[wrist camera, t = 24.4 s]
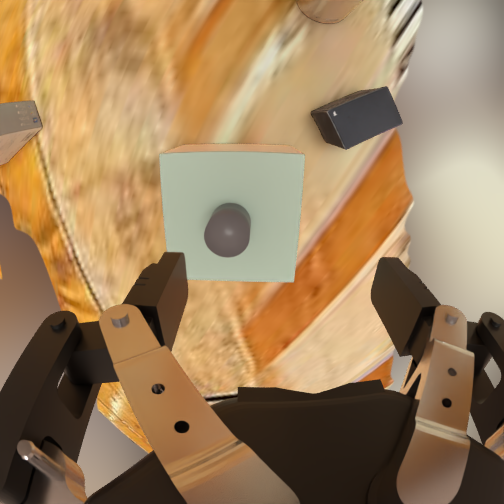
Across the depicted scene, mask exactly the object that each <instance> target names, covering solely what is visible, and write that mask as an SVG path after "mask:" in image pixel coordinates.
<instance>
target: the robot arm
mask: <svg viewBox="0 0 504 504" xmlns="http://www.w3.org/2000/svg"><path fill="white" fill-rule="evenodd" d="M362 1H363V0H297V3H298V6H299V8H300V10H301V11H302V12H303V13H304V14H305V15H306V16H308V17H309V18H311V19H312V20H315V21H317V22H321V23H328V24H330V23H336V22H339V21H341V20H343V19H344V18H345V17H346V16H347V15H348V14H349V13H350V12H351V11H352V10H353V9H354V8H355V7H356V6H358V5H359V4H360V3H361V2H362ZM187 298H188V282H187V272H186V262H185V255H184V253H183V252H164V254H163V256H162V257H161V259H160V261H159V262H158V264H154V263H152V264H151V265H149V266H148V267H146V268H145V269H144V270H143V271H142V273H141V274H140V276H139V279H137V280H136V282H135V285H133V287H132V288H131V290H130V292H129V293H128V295H127V297H126V298H125V300H124V302H123V303H122V304H120V305H116V306H113V307H110V308H108V309H107V310H106V311H104V312H103V313H102V315H101V316H100V319H99V321H95V322H86V323H79V322H78V320H77V317H76V315H75V314H74V313H72V312H70V311H59V312H56V313H53V314H51V315H50V316H48V317H47V318H46V319H45V320H44V321H43V323H42V324H41V326H40V327H39V329H38V330H37V332H36V333H35V335H34V336H33V337H32V339H31V341H30V342H29V344H28V345H27V347H26V348H25V350H24V352H23V353H22V355H21V356H20V358H19V360H18V361H17V363H16V365H15V366H14V368H13V370H12V372H11V373H10V375H9V377H8V379H7V380H6V382H5V384H4V386H3V388H2V390H1V391H0V502H1V503H2V504H504V320H503V319H502V318H501V317H500V316H498V315H496V314H494V313H491V312H485V313H483V314H482V316H481V318H480V320H479V322H478V323H474V322H468V321H467V319H466V317H465V315H464V314H463V313H462V312H461V311H460V310H458V309H457V308H455V307H452V306H448V305H441V304H440V303H439V302H438V300H437V299H436V298H435V297H434V295H433V294H432V293H431V292H430V290H429V289H427V287H426V286H425V284H424V283H422V281H421V280H420V279H419V277H418V276H417V275H416V274H414V273H413V272H412V271H410V270H409V269H408V268H407V267H406V266H405V265H404V264H403V263H402V262H401V260H400V259H399V258H395V257H382V258H380V260H379V262H378V265H377V269H376V273H375V277H374V281H373V285H372V288H371V301H372V304H373V305H374V307H375V309H376V311H377V313H378V315H379V317H380V318H381V320H382V322H383V324H384V326H385V328H386V330H387V332H388V334H389V336H390V338H391V340H392V342H393V344H394V346H395V348H396V350H397V352H398V354H399V356H400V357H401V356H408V355H412V359H411V361H410V363H409V366H408V369H407V372H406V375H405V378H404V381H403V384H402V386H401V389H400V392H396V391H392V390H386V389H384V388H383V385H382V382H381V380H380V379H379V380H372V381H364V382H356V383H348V384H345V385H342V386H339V387H336V388H333V389H330V390H327V391H324V392H320V393H316V394H312V393H305V392H299V391H293V390H287V389H281V388H276V387H272V388H259V387H238V397H237V398H232V399H228V400H224V401H221V402H218V403H216V404H213V405H211V406H209V404H208V403H207V402H206V401H205V399H204V398H203V397H202V395H201V394H200V393H199V391H198V390H197V389H196V387H195V386H194V385H193V383H192V382H191V380H190V379H189V378H188V376H187V375H186V373H185V372H184V371H183V369H182V368H181V366H180V365H179V363H178V362H177V360H176V359H175V357H174V356H173V354H172V353H171V351H172V347H173V344H174V341H175V337H176V334H177V331H178V328H179V325H180V321H181V318H182V315H183V312H184V309H185V306H186V302H187ZM492 357H493V359H494V360H495V362H496V363H497V365H498V367H499V368H500V370H501V380H500V382H499V384H498V385H497V387H496V388H495V389H494V387H493V385H492V383H491V381H490V379H489V377H488V376H487V374H486V372H485V370H484V368H485V367H486V365H487V364H488V362H489V361H490V359H491V358H492ZM63 372H64V376H63V378H62V380H61V382H60V384H59V386H58V382H59V380H60V378H61V376H62V373H63ZM119 381H120V383H121V386H122V388H123V390H124V393H125V395H126V397H127V399H128V401H129V404H130V406H131V408H132V410H133V412H134V414H135V416H136V418H137V420H138V422H139V424H140V426H141V428H142V430H143V432H144V434H145V435H146V437H147V439H148V441H149V443H150V445H151V446H152V448H153V451H152V452H150V453H149V454H148V455H147V456H145V457H144V458H143V459H141V460H140V461H139V462H137V463H136V464H135V465H133V466H132V467H131V468H129V469H128V470H127V471H125V472H124V473H122V474H121V475H120V476H118V477H117V478H115V479H114V480H112V481H111V482H110V483H108V484H107V485H105V486H104V487H102V488H101V489H99V490H98V491H96V492H95V493H93V494H92V495H91V496H90V497H89V498H87V496H86V494H85V479H84V474H83V472H82V470H81V468H80V467H79V466H78V464H77V460H78V456H79V452H80V449H81V445H82V442H83V439H84V435H85V432H86V429H87V425H88V422H89V419H90V416H91V413H92V410H93V407H94V404H95V401H96V398H97V395H98V392H99V390H100V387H101V384H102V383H109V382H119ZM57 386H58V389H57ZM470 413H471V416H472V418H473V421H474V423H475V426H476V428H477V431H478V433H479V436H480V439H481V441H482V444H483V445H482V444H481V443H479V442H477V441H476V440H474V439H473V438H471V437H470V436H468V435H467V433H466V432H467V427H468V420H469V414H470Z"/></svg>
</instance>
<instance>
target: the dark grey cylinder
mask: <svg viewBox="0 0 504 504" xmlns="http://www.w3.org/2000/svg"><path fill="white" fill-rule="evenodd" d="M250 228H251V218H250V215H249V213H248V212H247V210H246V209H245V208H244V207H242V206H241V205H239V204H236V203H225V204H222V205H220V206H218V207H217V208H216V209H215V210H214V212H213V214H212V216H211V218H210V220H209V222H208V224H207V226H206V228H205V231H204V240H205V243H206V245H207V247H208V248H209V249H210V251H212V252H213V253H214V254H216V255H218V256H221V257H226V258H229V257H235V256H238V255H239V254H241V253H242V252H243V251H244V250H245V249H246V248H247V246H248V244H249V240H250Z"/></svg>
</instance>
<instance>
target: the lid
mask: <svg viewBox="0 0 504 504" xmlns="http://www.w3.org/2000/svg"><path fill="white" fill-rule="evenodd" d="M159 155H160V176H161V192H162V205H163V217H164V228H165V238H166V247H167V252H183V253H184V255H185V262H186V272H187V280H215V281H251V282H294V276H295V267H296V257H297V248H298V238H299V227H300V216H301V204H302V192H303V178H304V163H305V154H298V153H281V152H254V151H200V152H173V153H161V154H159ZM225 203H236V204H239V205H241V206H242V207H244V208H245V209H246V210H247V212H248V213H249V215H250V218H251V228H250V240H249V244H248V246H247V248H246V249H245V250H244V251H243V252H242V253H241V254H239V255H238V256H235V257H229V258H226V257H221V256H218V255H216V254H214V253H213V252H212V251H210V249H209V248H208V247H207V245H206V243H205V240H204V231H205V228H206V226H207V224H208V222H209V220H210V218H211V216H212V214H213V212H214V210H215V209H216V208H217V207H218V206H220V205H222V204H225Z"/></svg>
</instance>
